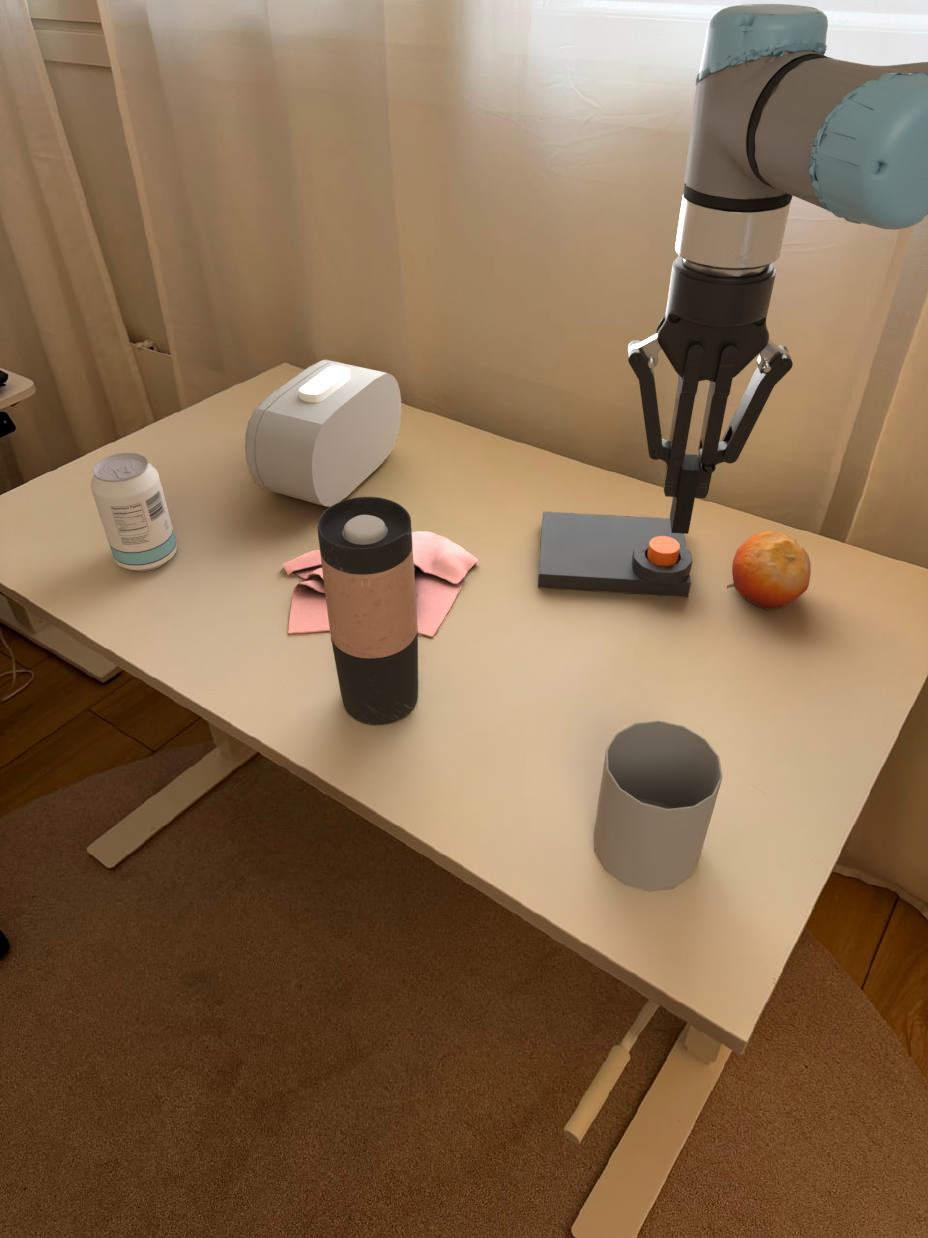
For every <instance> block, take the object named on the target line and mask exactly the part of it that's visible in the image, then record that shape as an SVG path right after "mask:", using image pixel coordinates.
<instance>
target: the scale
mask: <svg viewBox="0 0 928 1238" xmlns="http://www.w3.org/2000/svg"><path fill="white" fill-rule="evenodd" d="M540 533H541V534H540V549H539V561H538V562H539V563H538V575H537V576H538V577H537V588H538V589H550V590H551V589H552V590H566V591H567V590H568V591H569V590H570V591H585V592H603V593H616V594H618V593H619V594H632V595H633V594H634V595H649V596H663V597H665V596H667V597H668V596H669V597H682V598H688V597H689V596H690V595H689V594H690V590H691V585H692V580H691V572H692V571H691V570H692V566H693V557H692V552H691V551H690V550H689V549H688V548H687V546H686V545H687V544H686V539H685V534H682V533H671V523H670V517H669V518H668V517H652V516H635V515H632V516H631V515H614V514H598V513H596V514H595V513H577V512H562V511H561V512H557V511H542V519H541V532H540ZM658 536H667V537H671V538H673V539H675V540H676V541H678V543H679V544H680V550H679V555H678V560H677V562H676V563H675V564H674V565H672V566H658V565H656V564H653V563H651V562H650V561H649V560H648V558H647V554H648V548H649V542H650V540H651V539H653V538H654V537H658Z"/></svg>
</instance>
